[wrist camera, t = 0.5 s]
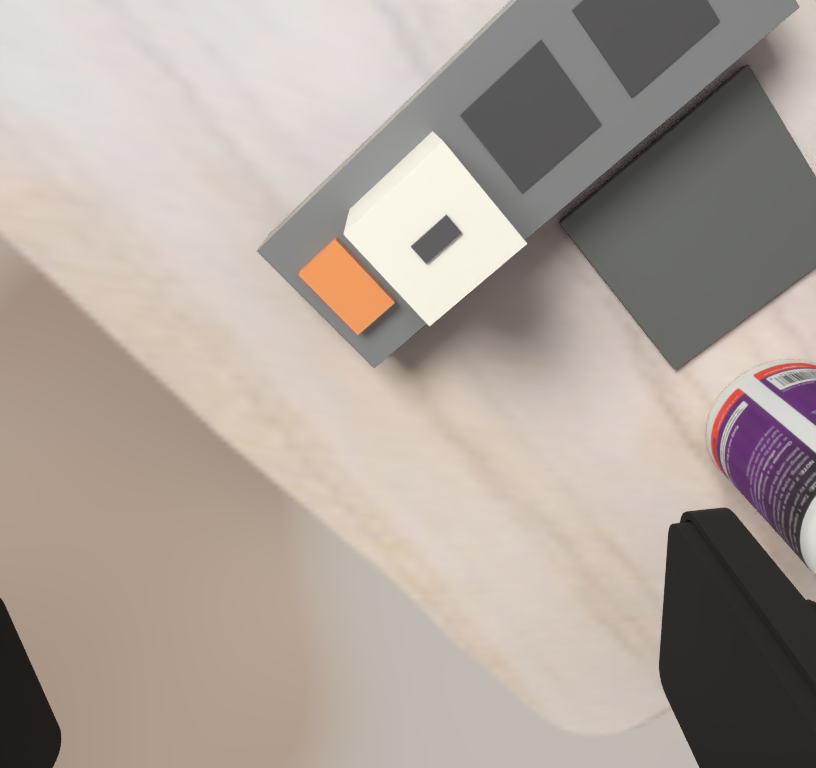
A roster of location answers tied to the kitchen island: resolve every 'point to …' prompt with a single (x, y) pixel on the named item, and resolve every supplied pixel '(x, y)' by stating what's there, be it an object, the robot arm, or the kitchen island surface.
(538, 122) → the power strip
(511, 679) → the kitchen island surface
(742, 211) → the mat
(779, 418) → the pill bottle
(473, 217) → the block
